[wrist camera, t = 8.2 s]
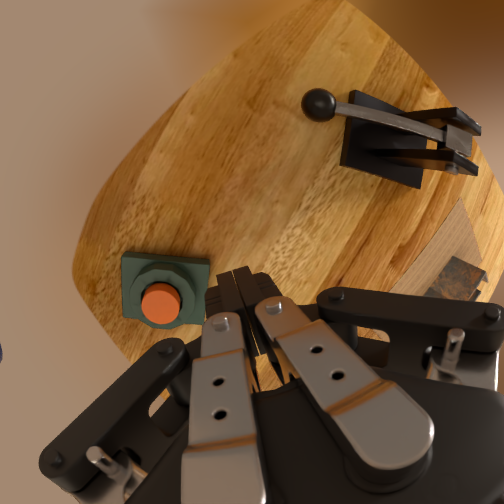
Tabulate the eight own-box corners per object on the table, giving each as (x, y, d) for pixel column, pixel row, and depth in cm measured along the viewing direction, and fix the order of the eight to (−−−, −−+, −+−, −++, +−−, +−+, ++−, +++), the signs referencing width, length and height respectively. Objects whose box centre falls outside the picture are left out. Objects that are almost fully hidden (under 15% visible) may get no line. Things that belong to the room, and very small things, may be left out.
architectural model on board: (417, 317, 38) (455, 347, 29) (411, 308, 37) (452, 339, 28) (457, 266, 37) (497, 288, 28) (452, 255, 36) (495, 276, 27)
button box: (125, 309, 29) (119, 326, 25) (125, 251, 27) (116, 262, 23) (203, 317, 31) (204, 334, 27) (209, 259, 29) (211, 271, 26)
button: (144, 313, 26) (141, 322, 24) (144, 280, 25) (141, 288, 23) (179, 316, 27) (178, 326, 25) (180, 284, 26) (180, 292, 24)
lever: (300, 122, 23) (296, 114, 20) (305, 92, 23) (301, 80, 20) (458, 164, 20) (472, 161, 17) (460, 133, 19) (474, 128, 16)
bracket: (339, 165, 28) (421, 172, 16) (349, 91, 26) (428, 66, 14) (413, 188, 31) (491, 206, 19) (422, 124, 29) (498, 123, 17)
